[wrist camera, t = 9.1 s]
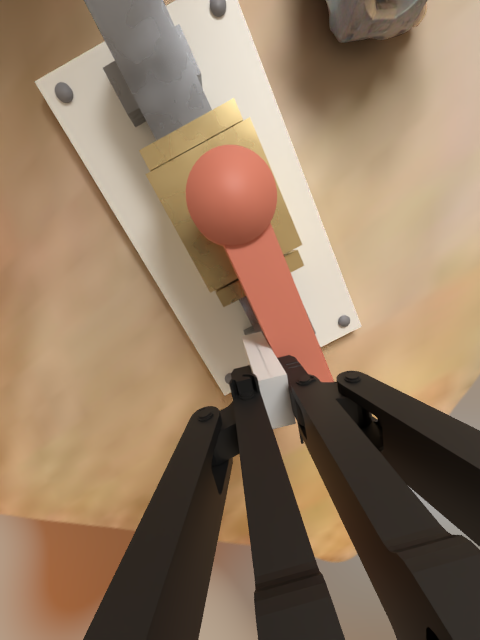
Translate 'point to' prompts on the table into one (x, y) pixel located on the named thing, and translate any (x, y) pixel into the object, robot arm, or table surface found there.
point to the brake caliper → (373, 18)
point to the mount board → (145, 207)
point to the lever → (253, 247)
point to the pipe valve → (180, 129)
